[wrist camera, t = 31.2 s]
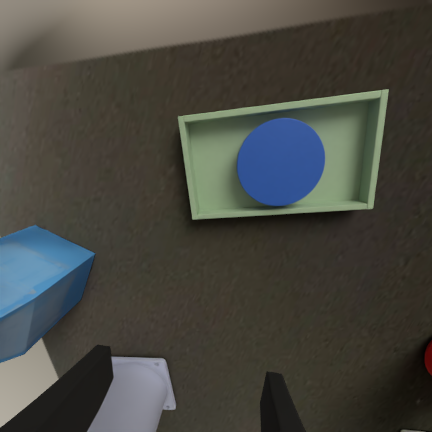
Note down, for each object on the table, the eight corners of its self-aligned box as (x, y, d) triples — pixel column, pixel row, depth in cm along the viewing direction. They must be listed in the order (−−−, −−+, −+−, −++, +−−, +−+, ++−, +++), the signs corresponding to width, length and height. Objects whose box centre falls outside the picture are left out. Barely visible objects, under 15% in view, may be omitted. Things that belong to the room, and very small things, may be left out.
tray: (196, 213, 18) (192, 220, 16) (183, 119, 15) (177, 116, 14) (360, 202, 16) (373, 208, 14) (372, 95, 14) (389, 89, 12)
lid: (332, 139, 14) (344, 138, 13) (293, 211, 16) (299, 218, 15) (256, 108, 14) (258, 103, 13) (225, 184, 16) (224, 188, 15)
